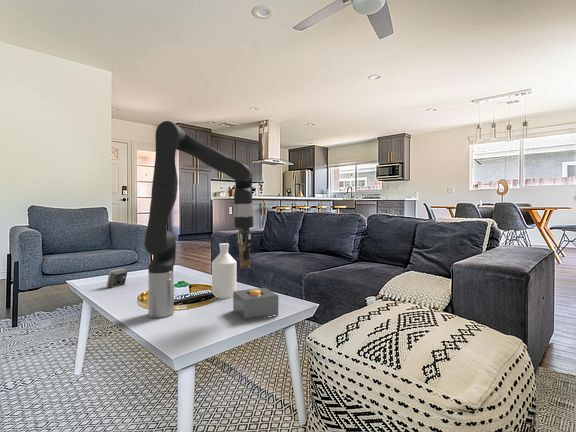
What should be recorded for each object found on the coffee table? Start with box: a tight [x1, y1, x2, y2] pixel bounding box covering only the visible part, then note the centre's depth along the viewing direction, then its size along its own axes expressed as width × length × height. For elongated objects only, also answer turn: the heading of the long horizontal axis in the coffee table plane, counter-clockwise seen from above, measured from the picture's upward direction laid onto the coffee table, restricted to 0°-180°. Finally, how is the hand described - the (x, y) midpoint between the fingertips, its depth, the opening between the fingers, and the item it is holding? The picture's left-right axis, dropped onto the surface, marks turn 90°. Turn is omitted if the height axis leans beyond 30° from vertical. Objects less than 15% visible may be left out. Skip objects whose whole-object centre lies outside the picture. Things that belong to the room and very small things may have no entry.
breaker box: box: [232, 287, 279, 322], centre depth 130 cm, size 14×14×8 cm
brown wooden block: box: [238, 237, 251, 269], centre depth 128 cm, size 4×4×12 cm
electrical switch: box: [106, 268, 128, 289], centre depth 176 cm, size 9×5×9 cm, turn 159°
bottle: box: [211, 242, 238, 299], centre depth 157 cm, size 12×12×25 cm
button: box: [250, 288, 261, 296], centre depth 130 cm, size 4×4×6 cm
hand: (244, 258), depth 128 cm, fingers closed on brown wooden block, 4 cm apart
